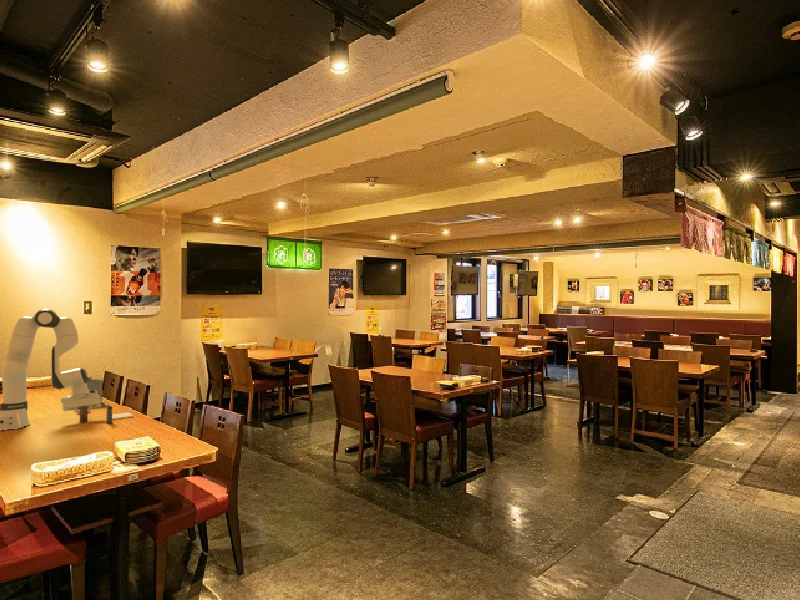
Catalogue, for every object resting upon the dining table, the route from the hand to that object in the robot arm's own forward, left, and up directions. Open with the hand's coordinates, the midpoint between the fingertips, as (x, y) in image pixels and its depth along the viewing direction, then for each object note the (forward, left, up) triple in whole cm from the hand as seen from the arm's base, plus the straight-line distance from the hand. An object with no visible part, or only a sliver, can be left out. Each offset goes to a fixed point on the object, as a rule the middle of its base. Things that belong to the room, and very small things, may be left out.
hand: (83, 413), depth 307 cm
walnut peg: (0, +1, -5) cm, 5 cm away
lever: (+11, -5, -5) cm, 13 cm away
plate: (+20, +1, -5) cm, 21 cm away
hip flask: (+13, +55, -5) cm, 56 cm away
